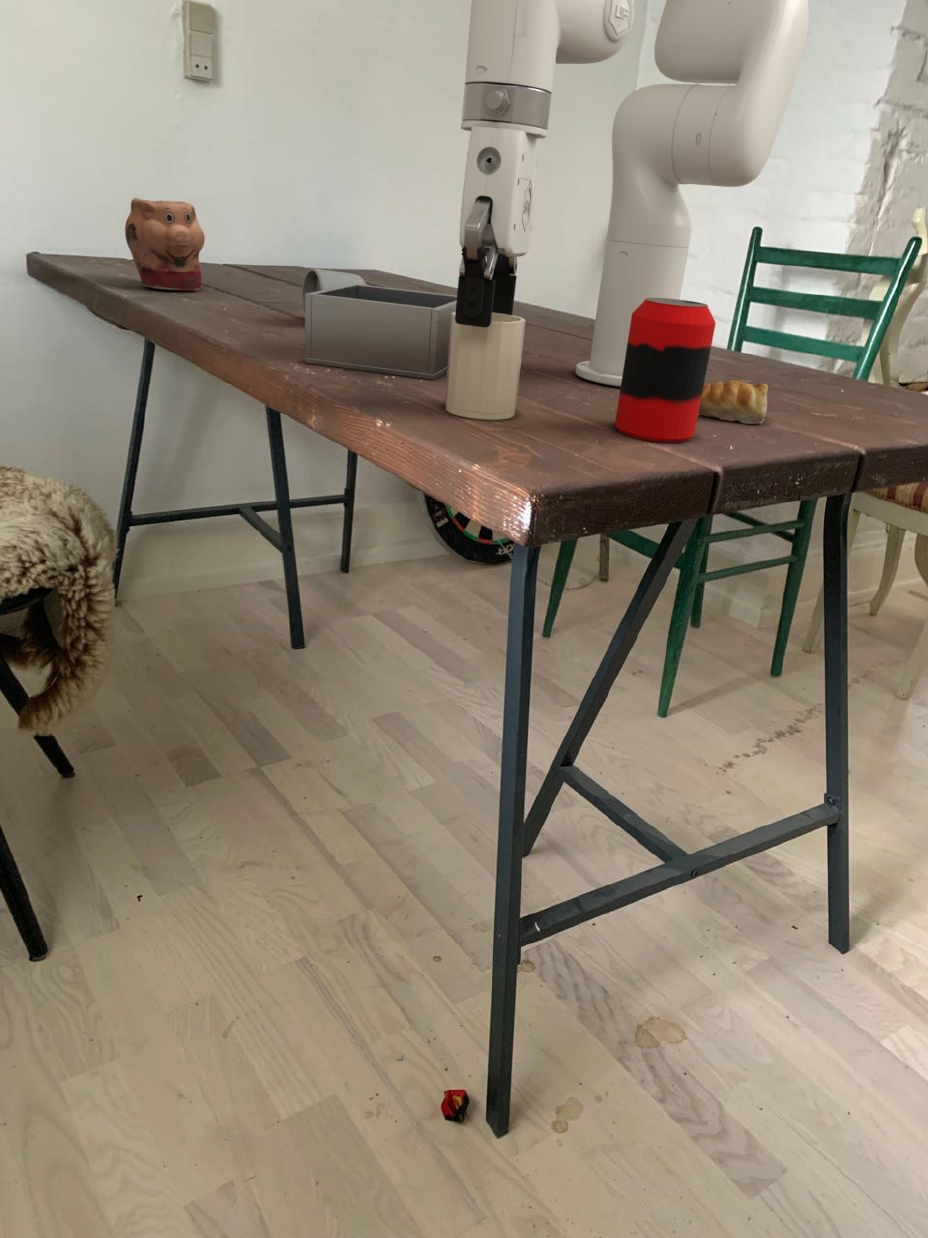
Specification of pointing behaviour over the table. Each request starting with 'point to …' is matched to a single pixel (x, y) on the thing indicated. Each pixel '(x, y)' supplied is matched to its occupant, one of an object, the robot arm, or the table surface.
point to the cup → (485, 368)
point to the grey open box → (379, 330)
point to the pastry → (734, 401)
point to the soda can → (664, 370)
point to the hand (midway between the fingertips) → (484, 320)
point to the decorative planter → (165, 244)
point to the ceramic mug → (327, 281)
